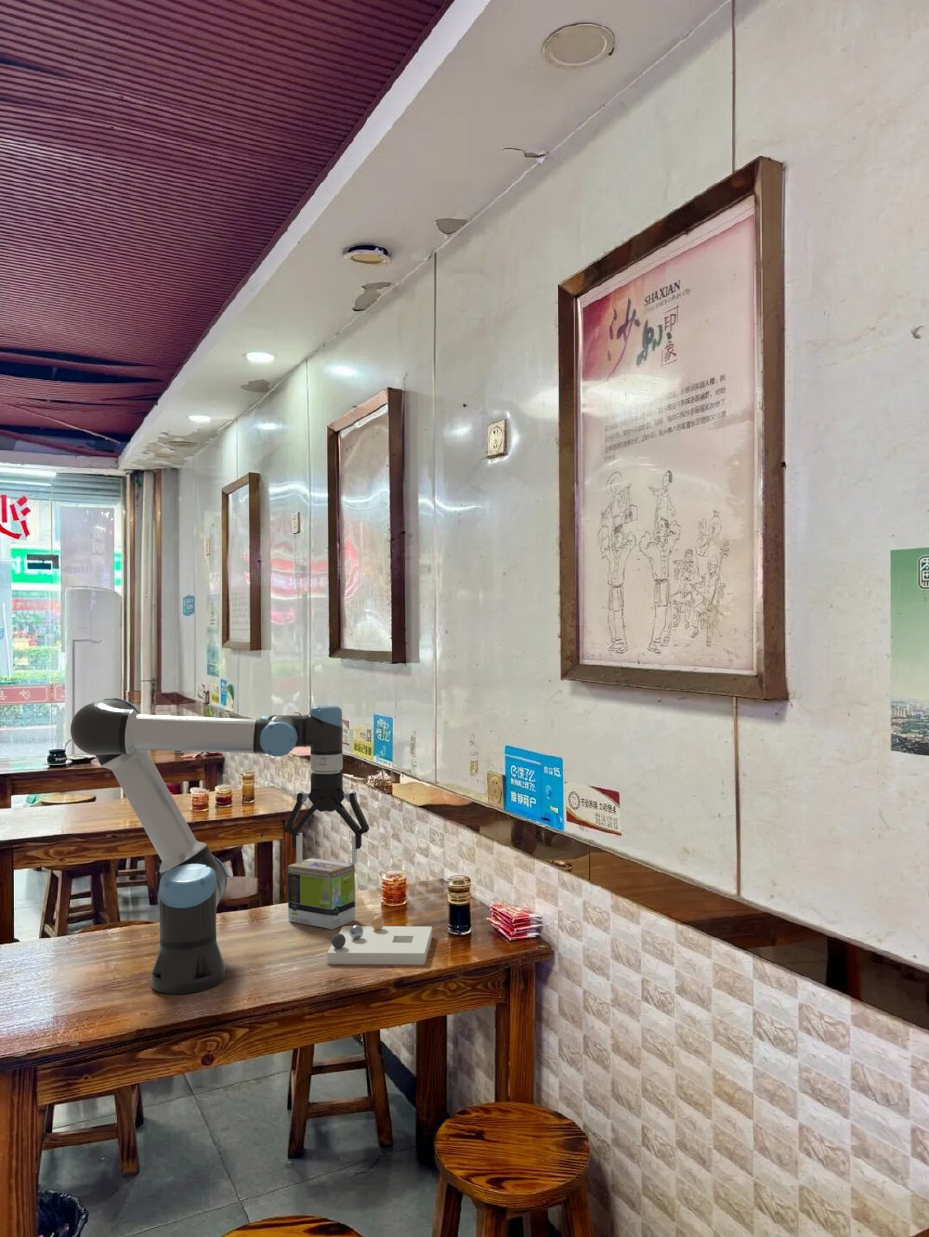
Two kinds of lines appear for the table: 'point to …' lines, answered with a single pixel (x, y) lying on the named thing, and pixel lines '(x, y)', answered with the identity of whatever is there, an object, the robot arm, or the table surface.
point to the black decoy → (338, 940)
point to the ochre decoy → (377, 923)
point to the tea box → (321, 893)
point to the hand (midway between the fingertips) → (327, 862)
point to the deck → (383, 946)
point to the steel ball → (356, 932)
